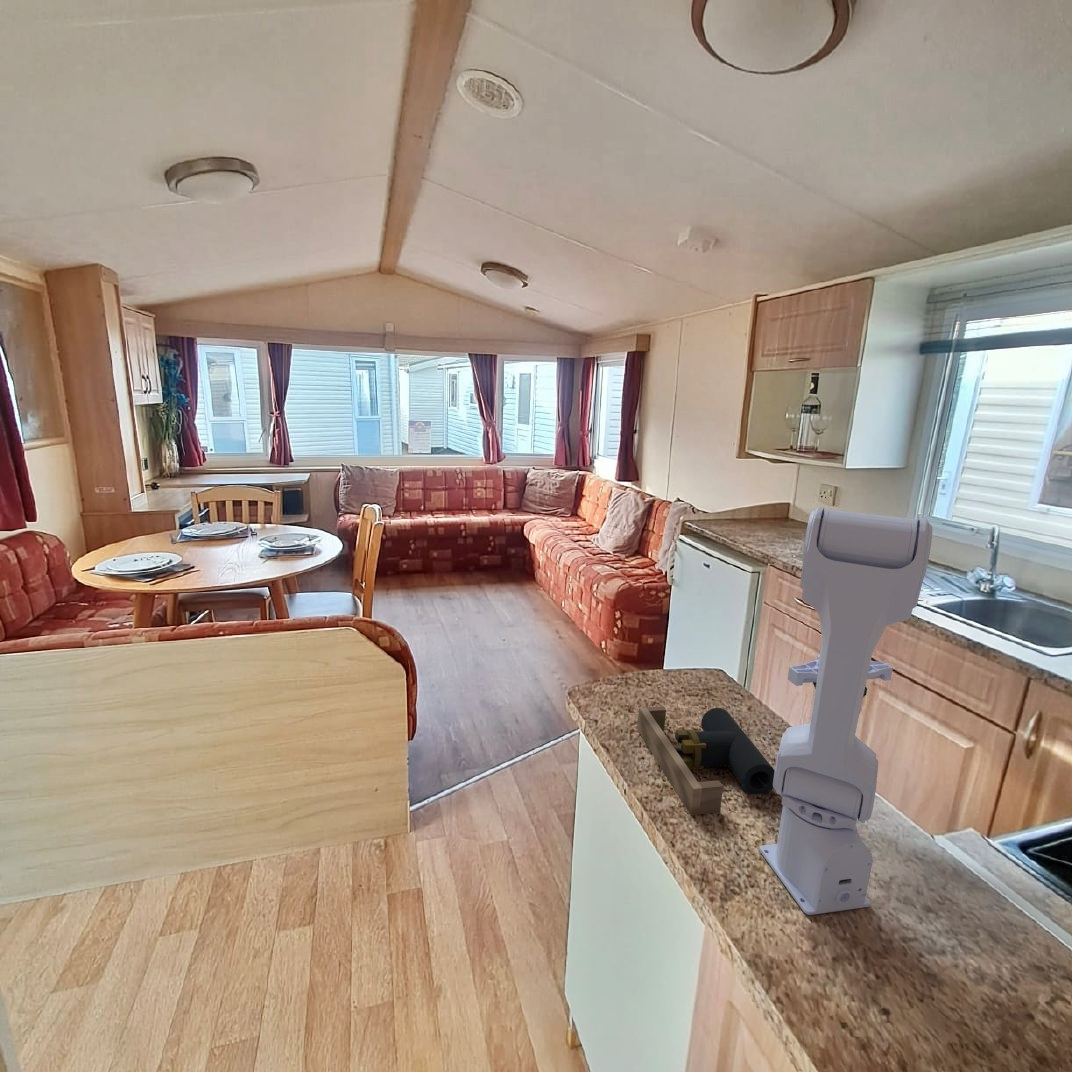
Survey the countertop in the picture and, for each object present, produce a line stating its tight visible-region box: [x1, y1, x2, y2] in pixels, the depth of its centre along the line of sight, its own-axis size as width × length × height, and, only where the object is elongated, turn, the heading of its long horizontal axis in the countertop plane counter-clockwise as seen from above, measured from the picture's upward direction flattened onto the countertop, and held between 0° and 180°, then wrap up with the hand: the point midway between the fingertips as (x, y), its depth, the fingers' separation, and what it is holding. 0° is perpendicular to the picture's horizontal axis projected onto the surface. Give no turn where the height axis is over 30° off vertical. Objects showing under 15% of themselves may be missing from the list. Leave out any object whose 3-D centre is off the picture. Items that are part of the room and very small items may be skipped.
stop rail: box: [636, 705, 724, 816], centre depth 85 cm, size 20×4×4 cm, turn 10°
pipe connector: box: [673, 707, 775, 795], centre depth 87 cm, size 12×5×15 cm
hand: (831, 727), depth 80 cm, fingers closed
